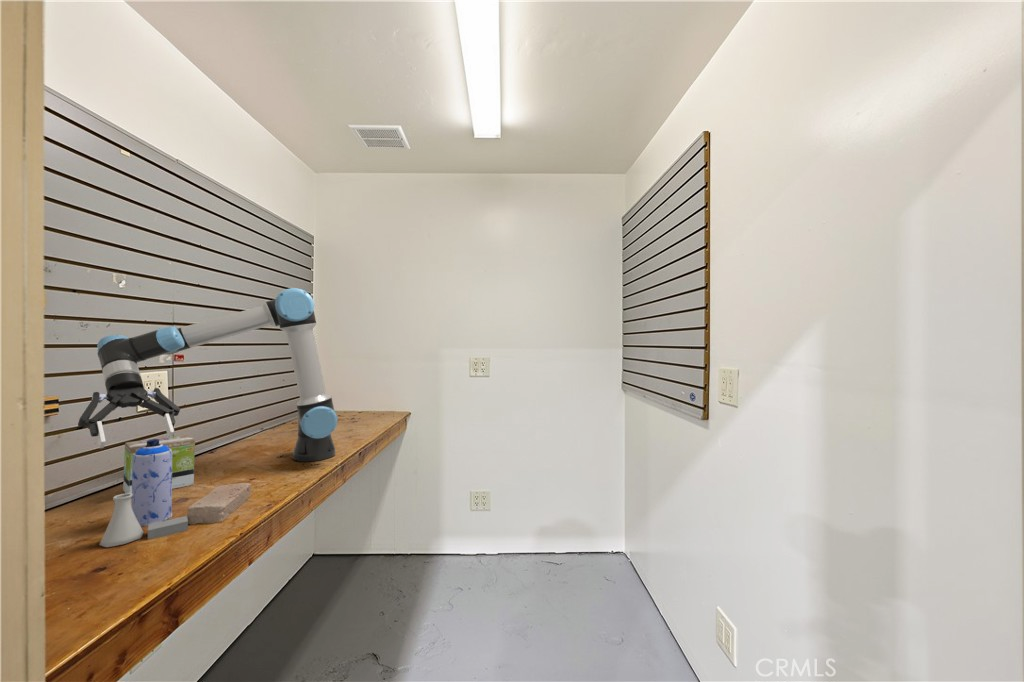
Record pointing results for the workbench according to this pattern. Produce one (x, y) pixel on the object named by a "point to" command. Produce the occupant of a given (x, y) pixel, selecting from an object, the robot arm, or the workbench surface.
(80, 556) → the workbench surface
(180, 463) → the tea box
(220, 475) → the workbench surface
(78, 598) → the workbench surface
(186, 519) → the block
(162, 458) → the aerosol can
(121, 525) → the flask
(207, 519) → the brick
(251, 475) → the workbench surface
